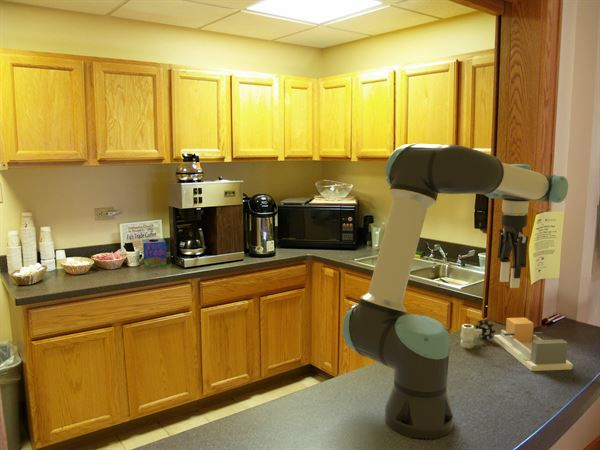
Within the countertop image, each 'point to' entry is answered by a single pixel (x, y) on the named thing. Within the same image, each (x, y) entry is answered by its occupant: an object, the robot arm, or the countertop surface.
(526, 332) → the orange block
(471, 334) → the valve
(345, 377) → the countertop surface
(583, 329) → the countertop surface
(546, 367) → the cream and grey fixture
